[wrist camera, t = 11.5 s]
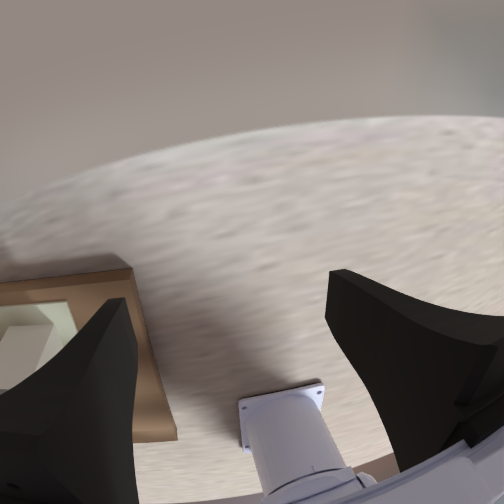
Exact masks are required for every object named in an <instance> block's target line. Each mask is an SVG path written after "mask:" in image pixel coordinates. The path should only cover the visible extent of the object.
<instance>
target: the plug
mask: <svg viewBox="0 0 504 504" xmlns="http://www.w3.org/2000/svg"><path fill="white" fill-rule="evenodd" d="M63 347H64V346H63V344H62V341H61V339H60V336H59V334H58V331H57V329H56V326H55V324H48V325H28V326H9V327H8V329H7V331H6V332H5V334H4V336H3V338H2V340H1V341H0V395H1V394H2V393H4V392H6V391H8V390H9V389H11V388H12V387H14V386H16V385H17V384H19V383H20V382H22V381H23V380H24V379H26V378H27V377H29V376H30V375H31V374H33V373H34V372H35V371H37V370H38V369H40V368H41V367H42V366H43V365H44V364H46V363H47V362H48V361H49V360H50V359H51V358H53V357H54V356H55V355H56V354H57V353H58V352H59V351H60V350H61V349H62V348H63Z"/></svg>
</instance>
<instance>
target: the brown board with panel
mask: <svg viewBox="0 0 504 504" xmlns="http://www.w3.org/2000/svg"><path fill="white" fill-rule="evenodd" d="M121 297H125V299H126V303H127V307H128V310H129V314H130V318H131V322H132V325H133V329H134V332H135V336H136V339H137V343H138V374H137V383H136V392H135V401H134V411H133V423H132V438H133V443H150V442H165V441H177V440H178V438H177V428H176V425H175V422H174V419H173V416H172V413H171V410H170V407H169V404H168V401H167V398H166V395H165V392H164V389H163V386H162V382H161V379H160V376H159V372H158V369H157V366H156V362H155V359H154V355H153V352H152V348H151V344H150V341H149V337H148V333H147V329H146V325H145V321H144V317H143V313H142V309H141V305H140V301H139V296H138V292H137V287H136V283H135V278H134V273H133V268H130V269H121V270H112V271H104V272H95V273H86V274H77V275H68V276H60V277H51V278H42V279H33V280H24V281H15V282H7V283H0V341H1V340H2V338H3V336H4V334H5V332H6V331H7V329H8V327H9V326H28V325H48V324H55V326H56V329H57V331H58V334H59V336H60V339H61V341H62V344H63V346H65V345H66V344H67V343H68V342H69V341H70V340H71V339H72V338H73V337H74V336H75V335H76V334H77V333H78V332H79V331H80V330H81V329H82V327H83V326H84V325H85V324H86V323H87V322H88V321H89V320H90V318H91V317H92V316H93V315H94V314H95V313H96V312H97V310H98V309H99V308H100V307H101V306H102V305H103V304H104V303H105V302H106V301H107V300H108V299H111V298H121Z"/></svg>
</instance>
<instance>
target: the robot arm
mask: <svg viewBox="0 0 504 504" xmlns="http://www.w3.org/2000/svg"><path fill="white" fill-rule="evenodd" d="M325 319H326V321H327V324H328V326H329V328H330V330H331V332H332V334H333V336H334V339H335V340H336V342H337V343H338V345H339V346H340V348H341V349H342V351H343V353H344V354H345V356H346V357H347V359H348V360H349V362H350V363H351V365H352V366H353V368H354V369H355V371H356V372H357V374H358V375H359V377H360V378H361V380H362V381H363V383H364V385H365V386H366V388H367V390H368V392H369V394H370V396H371V398H372V400H373V402H374V404H375V406H376V408H377V411H378V413H379V415H380V418H381V420H382V422H383V425H384V427H385V429H386V432H387V435H388V437H389V440H390V443H391V445H392V448H393V451H394V454H395V457H396V460H397V464H398V467H399V470H400V473H399V474H397V475H395V476H393V477H391V478H388V479H386V480H383V481H381V482H379V483H377V482H376V480H375V479H374V478H373V477H372V476H371V475H368V474H365V473H363V472H360V473H358V474H356V475H355V474H354V472H353V470H352V468H351V466H349V467H347V466H346V464H345V462H344V460H343V458H342V456H341V454H340V452H339V450H338V448H337V446H336V444H335V442H334V440H333V438H332V436H331V434H330V432H329V430H328V427H327V425H326V423H325V421H324V419H323V417H322V415H321V413H320V410H321V405H322V400H323V395H324V390H325V386H324V384H323V383H317V384H313V385H309V386H304V387H300V388H295V389H291V390H286V391H281V392H276V393H271V394H266V395H261V396H255V397H250V398H244V399H241V400H239V401H238V407H239V418H240V428H241V438H242V448H243V452H244V453H251V452H252V454H253V458H254V461H255V465H256V468H257V472H258V475H259V479H260V482H261V486H262V489H263V492H264V496H265V497H263V498H261V502H262V504H493V503H494V502H495V501H496V500H497V499H498V498H500V497H501V496H502V495H503V494H504V316H490V315H482V314H474V313H468V312H463V311H458V310H453V309H449V308H445V307H441V306H437V305H434V304H431V303H428V302H424V301H421V300H419V299H416V298H413V297H411V296H408V295H406V294H403V293H400V292H398V291H396V290H393V289H391V288H389V287H387V286H384V285H382V284H380V283H378V282H375V281H373V280H371V279H369V278H366V277H364V276H362V275H360V274H357V273H355V272H352V271H349V270H346V269H341V270H334V271H330V272H329V283H328V293H327V302H326V311H325ZM137 374H138V343H137V339H136V336H135V332H134V329H133V325H132V322H131V318H130V314H129V310H128V307H127V303H126V299H125V297H121V298H111V299H108V300H107V301H106V302H105V303H104V304H103V305H102V306H101V307H100V308H99V309H98V310H97V312H96V313H95V314H94V315H93V316H92V317H91V318H90V320H89V321H88V322H87V323H86V324H85V325H84V326H83V327H82V329H81V330H80V331H79V332H78V333H77V334H76V335H75V336H74V337H73V338H72V339H71V340H70V341H69V342H68V343H67V344H66V345H65V346H64V347H63V348H62V349H61V350H60V351H59V352H58V353H57V354H56V355H55V356H54V357H53V358H51V359H50V360H49V361H48V362H47V363H46V364H44V365H43V366H42V367H41V368H40V369H38V370H37V371H35V372H34V373H33V374H31V375H30V376H29V377H27V378H26V379H24V380H23V381H22V382H20V383H19V384H17V385H16V386H14V387H12V388H11V389H9V390H8V391H6V392H4V393H2V394H1V395H0V504H139V499H138V492H137V485H136V477H135V467H134V456H133V438H132V423H133V411H134V401H135V392H136V383H137Z"/></svg>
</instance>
